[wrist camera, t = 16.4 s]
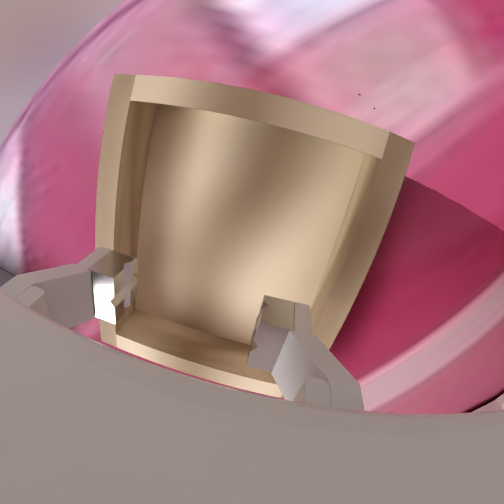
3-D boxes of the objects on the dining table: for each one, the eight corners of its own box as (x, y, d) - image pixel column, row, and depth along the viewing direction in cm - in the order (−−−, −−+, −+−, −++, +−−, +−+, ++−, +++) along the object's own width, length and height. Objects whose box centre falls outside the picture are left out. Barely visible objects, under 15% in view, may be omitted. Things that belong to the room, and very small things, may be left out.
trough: (388, 139, 11) (415, 143, 8) (299, 362, 16) (298, 401, 14) (148, 82, 11) (114, 74, 8) (125, 310, 17) (101, 340, 14)
